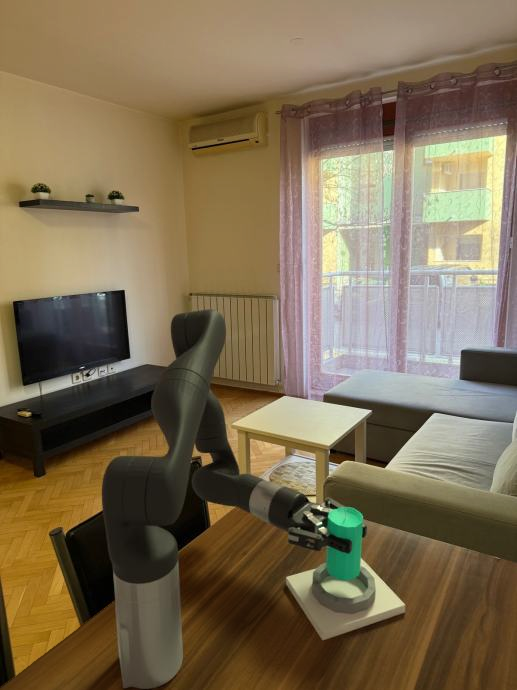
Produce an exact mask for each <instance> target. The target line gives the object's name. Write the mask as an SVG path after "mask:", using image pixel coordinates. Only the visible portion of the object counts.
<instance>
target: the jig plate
mask: <svg viewBox="0 0 517 690" xmlns="http://www.w3.org/2000/svg"><path fill="white" fill-rule="evenodd" d="M285 584H286V587H288V590H289V591H290V593H291V594H292V595H293V597H294V598H295V600H296V602H297V603H298V605H299V607H300V608H301V610H303V611H302V612H304V614H305V616H306V617H307V619H308V620H309V622H310V623H311V625H312V626H313V628H314V630H315V631H316V633H317V634H318V636H319V637H320V639H321V640H322V641H324V640H328V639H331V638H334V637H337V636H340V635H343V634H346V633H348V632H352V631H354V630H355V631H356V630H358V629H360V628H363V627H366V626H369V625H371V624H375V623H378V622H381V621H384V620H386V619H390V618H392V617H396V616H399V615H401V614H404V613H405V612H406V604H405V603H404V602H403V601H402V600H401V599H400V597H399V596H398V595H397V594H396V593H395V592H394V591H393V590H392V589H391V588H390V586H388V584H386V583H385V582H384V581H383V579H382V578H381V577H380V576H379V575H378V574H377V573H376V572H375V571H374V570H373V568H371V567H370V565H369V564H368V563H366V561H365V560H364V559H363V558H362V557H361V564H360V572H359V576H357V577H356V578H354V579H352V580H341V579H337V578H334V577H333V576H332V575H330V574H329V573H328V571H327V568H326V562H324V563H321V564H320V565H319V566H318V567H317V568H313V569H309V570H305V571H302V572H299V573H295V574H292V575H289V576H286V577H285Z"/></svg>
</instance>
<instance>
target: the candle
mask: <svg viewBox="0 0 517 690" xmlns="http://www.w3.org/2000/svg"><path fill="white" fill-rule="evenodd" d="M363 524H364V516H363V514H362V513H361V511H358V510H357V509H356V508H354V507H349V506H345V507H341V508H338V509H334V510H330V512H329V515H328V527H327V528H326V529H327V530H328V531H330V533H331V534H333V535H335V536H336V537H339V538H344V539H349V540H351V542H352V551H351V552H350V553H349V554H347V553H344V552H341V551H338V550H336V549H334V548H332V547H326V557H325V558H326V560H325V563H326V568H327V571H328V573H329V574H330V575H332V576H333V577H334V578H337V579H341V580H352V579H354V578H356V577H357V576H359V572H360V564H361V558H362V545H363V544H362V542H363V538H362V527H363Z"/></svg>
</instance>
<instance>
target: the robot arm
mask: <svg viewBox="0 0 517 690" xmlns="http://www.w3.org/2000/svg"><path fill="white" fill-rule="evenodd" d="M226 325H227V324H226V321H225V318H224V316H223V314H222V313H221V312H220V311H218V310H215V309H212V308H211V309H201V310H194V311H188V312H187V311H186V312H182V313H177V314H175V315H174V316H173V317H172V319H171V322H170V336H171V337H170V338H171V342H172V343H171V344H172V348H173V352H174V355H175V360H173V361H172V362H170V364H169V365H167V366H166V367H165V369H164V370H163V371H162V372H161V375H160V377H159V379H158V381H157V383H156V385H155V388H154V391H153V392H152V395H151V400H150V405H151V412H152V414H153V418H154V420H155V422H156V423H157V425H158V428H159V429H160V431H161V432H162V435H163V436H164V438H165V441H166V444H167V445H168V446H167V447H168V450H167V453H166V454H165V455H163V456H150V455H149V456H147V455H145V456H144V455H120V456H116V457H114V458H113V459H112V460H111V461H110V462H109V463H108V464H107V466H106V468H105V471H104V474H103V476H102V477H103V478H102V484H101V506H102V507H101V508H102V516H103V521H104V526H105V527H104V528H105V534H106V542H107V551H108V556H109V559H110V561H111V565H112V571H113V572H112V573H113V574H112V575H113V585H114V586H113V587H114V600H115V604H114V608H115V609H114V610H115V621H116V622H115V623H116V633H117V646H118V649H117V650H118V657H119V665H120V667H119V668H120V674H121V681H122V688H123V689H127V688H136V689H142V690H143V689H144V690H145V689H146V690H147V689H154V688H158V687H161V686H163V685H165V684H167V683H168V682H170V681H171V680H172V679H173V678H174V677H175V676H176V675H177V674H178V672H179V670H180V669H181V668H182V665H183V662H184V661H183V659H184V656H183V655H184V654H183V653H184V652H183V651H184V648H183V647H184V645H183V633H182V631H183V629H182V613H181V612H182V611H181V610H182V608H181V590H180V587H181V586H180V572H179V571H180V570H179V569H180V568H179V548H178V543H177V540H176V538H175V537H174V535H173V534H172V533H171V532H169V531H168V530H166V529H164V528H163V527H164V526H170V525H172V524H174V523H176V521H178V518H179V517H180V514H181V513H182V510H183V506H184V503H185V500H186V496H187V495H186V494H187V489H188V483H189V477H190V473H191V465H192V460H193V455H194V449H196V451H197V452H198V453H201V454H209V456H210V458H211V459H212V460H211V461H212V462H209V463H208V464H207V463H206V464H204V465H203V466H200V467H198V468H197V469H196V470H195V471H194V473H193V474H192V477H191V486H192V490H193V491H194V493H195V494H196V495H197V496H198V497H199V498H201V499H202V500H203V501H205V502H209V503H211V504H215V505H220V506H226V507H234V508H238V509H240V510H242V511H244V512H247V513H248V514H251V515H253V516H255V517H256V518H257V519H259V520H260V521H263V522H265V523H267V524H269V525H271V526H274V527H276V528H277V529H279V530H282V531H285V532H286V533H287V535H288V536H287V537H288V538H287V539H288V543H289V544H290V545H295V546H297V547H302V548H305V549H309V550H311V551H316V552H320V551H322V549H323V548H327V547H332V548H334V549H336V550H338V551H341V552H344V553H347V554H349V553H350V552H351V551H352V542H351V540H349V539H344V538H339V537H336V536H335V535H333V534H331V533H330V531H328V530H327V527H328V515H329V512H330V510H334V509H338V508H341V507H346V506H345V505H343V504H341V503H340V502H339V501H338V502H337V500H334V499H333V498H331V497H326V498H325V499H324V502H323V503H321V504H320V503H318V502H312V501H310V499H308V497H307V495H306V494H305V493H302V492H300V491H298V490H295V489H293V488H290V487H287V486H285V485H282V484H280V483H277V482H275V481H274V482H273V481H270V480H266V479H263V478H262V477H259V476H256V475H253V474H249V473H241V474H240V467H239V464H238V462H237V461H238V460H237V459H236V457H235V455H234V451H233V450H232V446H231V445H230V443H229V439H228V434H227V433H228V432H227V426H226V419H225V418H226V417H225V413H224V410H223V407H222V404H221V403H220V401H219V399H218V398H217V396H216V395H215V394H214V393H213V391H212V390H211V389H210V387H211V383H212V379H213V375H214V372H215V369H216V366H217V364H218V361H219V359H220V357H221V355H222V352H223V350H224V347H225V343H226V337H227V326H226ZM367 534H368V527H367V525H366V524H364V523H363V527H362V539H364V538H366V537H367V536H368V535H367ZM310 540H312V541H314V542H311V541H310Z"/></svg>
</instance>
